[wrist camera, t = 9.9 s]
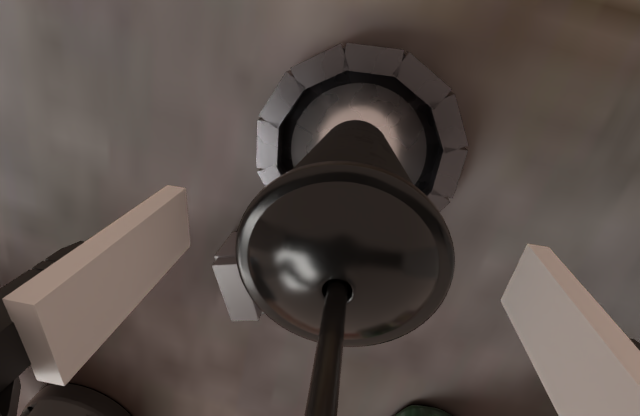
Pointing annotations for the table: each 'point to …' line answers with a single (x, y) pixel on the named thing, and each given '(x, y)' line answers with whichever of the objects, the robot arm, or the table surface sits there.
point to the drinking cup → (344, 252)
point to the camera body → (233, 284)
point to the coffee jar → (421, 411)
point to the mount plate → (366, 114)
